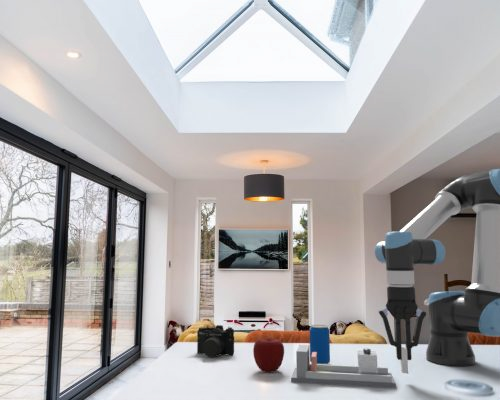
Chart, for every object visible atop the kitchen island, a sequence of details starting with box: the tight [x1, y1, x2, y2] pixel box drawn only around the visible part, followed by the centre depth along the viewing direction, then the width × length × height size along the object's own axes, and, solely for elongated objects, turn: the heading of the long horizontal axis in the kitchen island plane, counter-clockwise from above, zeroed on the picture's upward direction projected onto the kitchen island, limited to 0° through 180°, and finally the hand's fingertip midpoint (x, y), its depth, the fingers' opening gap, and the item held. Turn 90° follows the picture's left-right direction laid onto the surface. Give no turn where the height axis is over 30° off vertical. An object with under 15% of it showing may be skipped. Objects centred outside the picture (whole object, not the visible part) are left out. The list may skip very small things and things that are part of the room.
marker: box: [310, 352, 317, 372], centre depth 126 cm, size 1×6×5 cm, turn 169°
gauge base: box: [290, 344, 397, 389], centre depth 125 cm, size 28×11×8 cm, turn 79°
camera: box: [196, 324, 235, 358], centre depth 156 cm, size 14×11×10 cm
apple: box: [252, 337, 285, 373], centre depth 134 cm, size 10×10×10 cm
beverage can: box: [309, 324, 331, 365], centre depth 144 cm, size 6×6×12 cm
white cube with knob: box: [357, 348, 378, 375], centre depth 124 cm, size 5×6×7 cm
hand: (404, 371), depth 121 cm, fingers closed
